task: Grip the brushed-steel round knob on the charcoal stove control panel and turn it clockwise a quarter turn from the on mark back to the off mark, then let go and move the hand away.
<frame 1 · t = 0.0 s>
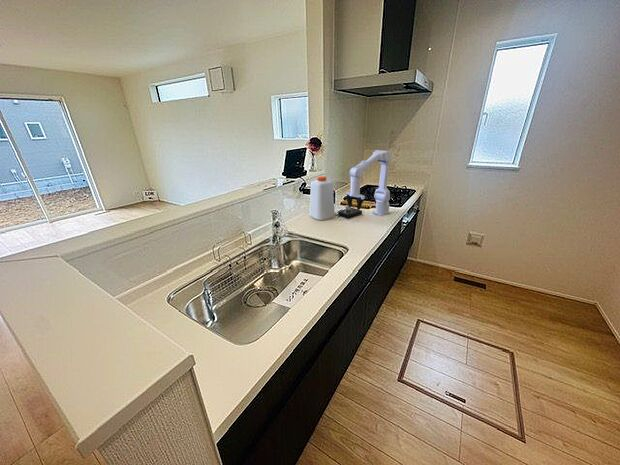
hand: (354, 207, 162), 10 cm above the table, tool pointing down, fingers open, 7 cm apart
plastic bottle: (322, 216, 179), on the table
knob: (348, 208, 178), point 5 cm above the table, hinge at 90.0°
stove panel: (350, 215, 180), on the table
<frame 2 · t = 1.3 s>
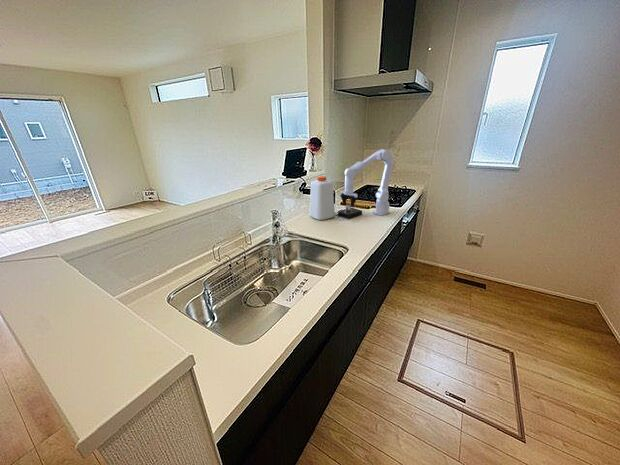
hand: (348, 205, 177), 7 cm above the table, tool pointing down, fingers open, 7 cm apart
nothing on the table moved.
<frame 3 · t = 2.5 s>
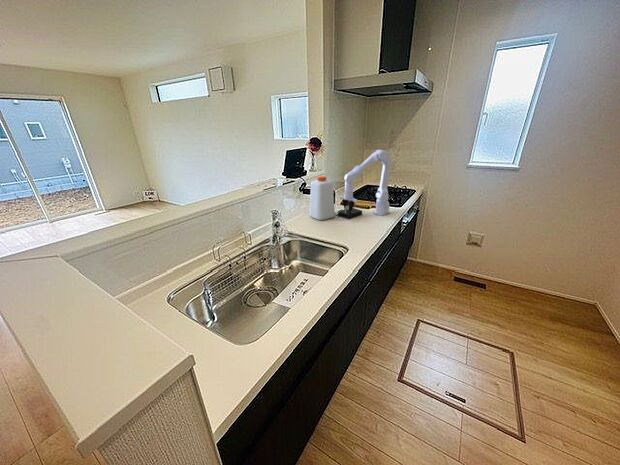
hand: (348, 210, 179), 4 cm above the table, tool pointing down, fingers closed on knob, 4 cm apart
knob: (348, 208, 178), point 5 cm above the table, hinge at 90.1°, touching gripper
everything else where it was.
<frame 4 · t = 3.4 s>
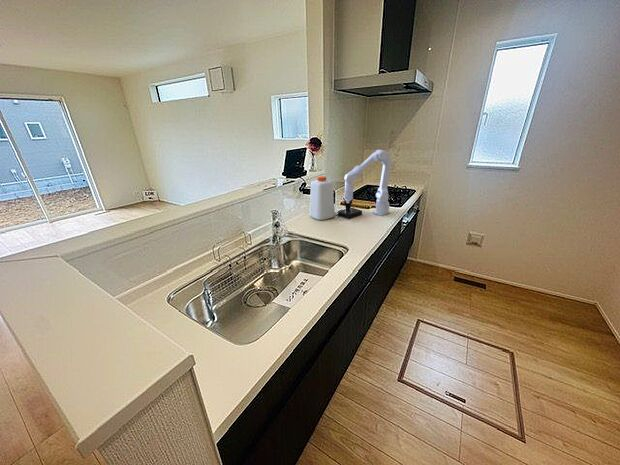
hand: (348, 210, 179), 4 cm above the table, tool pointing down, fingers closed on knob, 4 cm apart
knob: (348, 208, 178), point 5 cm above the table, hinge at 41.3°, touching gripper
everything else where it was.
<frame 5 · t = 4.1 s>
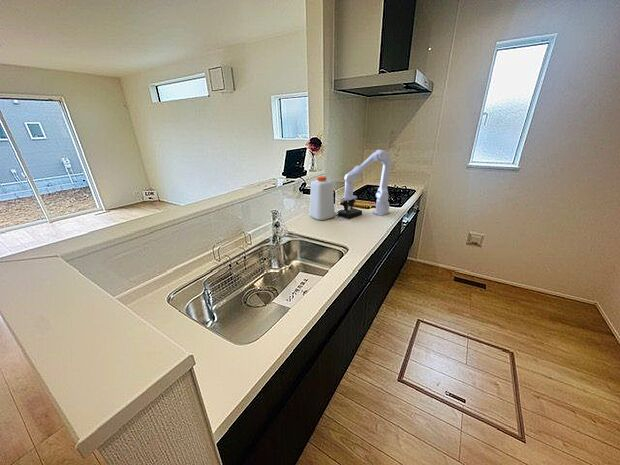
hand: (348, 210, 179), 4 cm above the table, tool pointing down, fingers closed on knob, 4 cm apart
knob: (348, 208, 178), point 5 cm above the table, hinge at -0.3°, touching gripper
everything else where it was.
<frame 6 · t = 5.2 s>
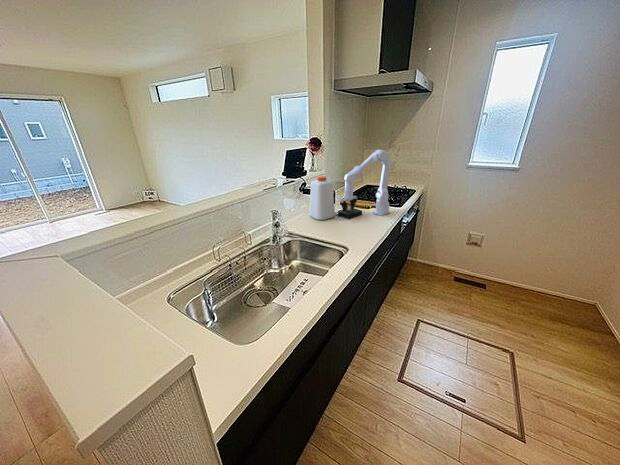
hand: (348, 210, 179), 3 cm above the table, tool pointing down, fingers open, 7 cm apart
knob: (348, 208, 178), point 5 cm above the table, hinge at -0.3°
everything else where it was.
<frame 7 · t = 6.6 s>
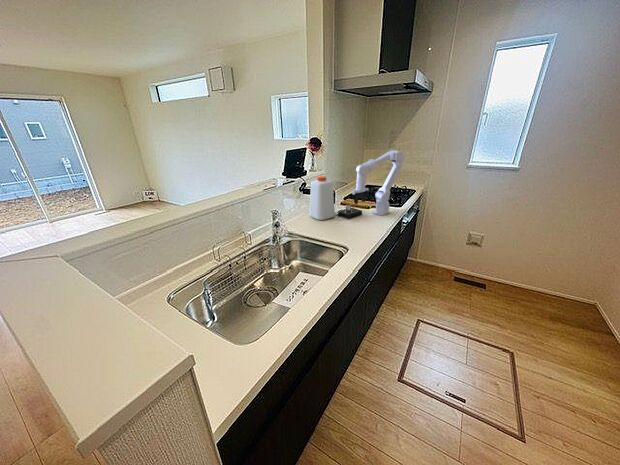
hand: (359, 202, 175), 9 cm above the table, tool pointing down, fingers open, 7 cm apart
nothing on the table moved.
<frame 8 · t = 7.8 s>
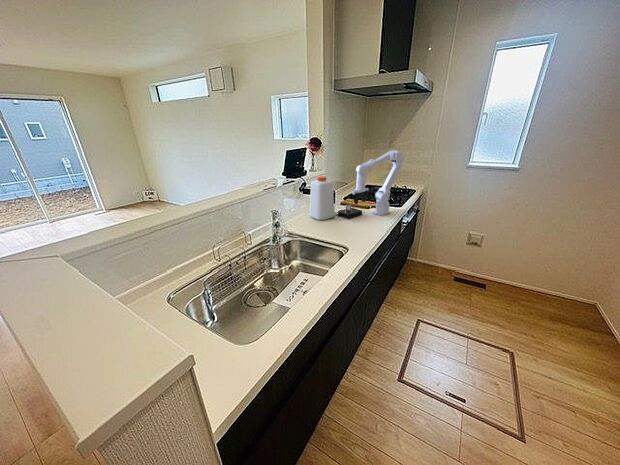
hand: (359, 202, 175), 9 cm above the table, tool pointing down, fingers open, 7 cm apart
nothing on the table moved.
at the end: knob at +0° (first picture: +90°); the gripper is holding nothing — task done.
